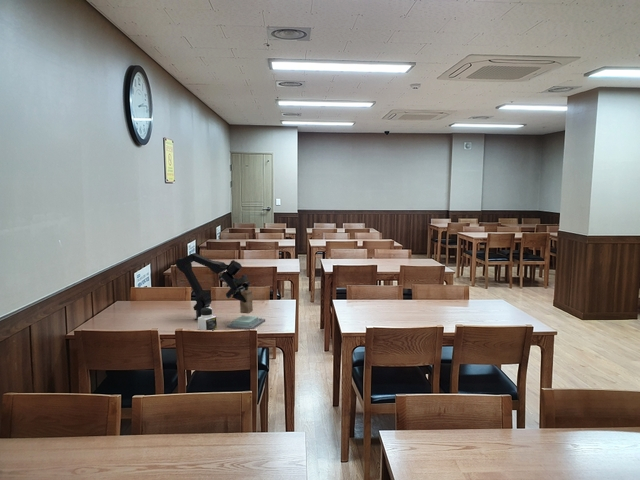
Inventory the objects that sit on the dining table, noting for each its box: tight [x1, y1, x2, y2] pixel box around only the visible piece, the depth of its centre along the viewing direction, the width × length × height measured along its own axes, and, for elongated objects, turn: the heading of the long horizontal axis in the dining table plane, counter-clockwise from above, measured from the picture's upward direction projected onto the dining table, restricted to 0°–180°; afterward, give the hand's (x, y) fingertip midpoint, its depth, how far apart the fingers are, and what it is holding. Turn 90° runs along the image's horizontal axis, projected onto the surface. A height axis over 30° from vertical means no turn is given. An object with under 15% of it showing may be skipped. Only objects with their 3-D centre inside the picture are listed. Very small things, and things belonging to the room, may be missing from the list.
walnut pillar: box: [239, 289, 254, 315], centre depth 248 cm, size 5×5×12 cm
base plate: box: [225, 314, 266, 330], centre depth 248 cm, size 16×16×3 cm
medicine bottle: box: [197, 306, 218, 331], centre depth 240 cm, size 7×7×12 cm
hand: (248, 300), depth 247 cm, fingers closed on walnut pillar, 5 cm apart
